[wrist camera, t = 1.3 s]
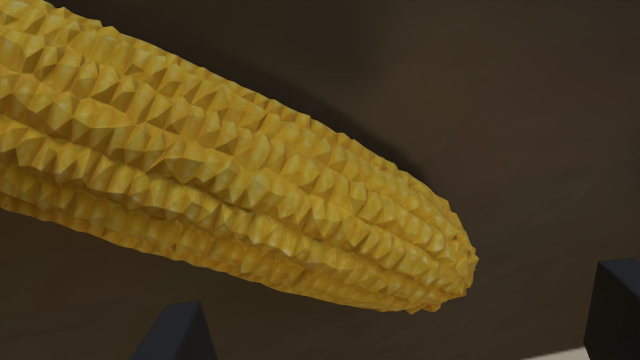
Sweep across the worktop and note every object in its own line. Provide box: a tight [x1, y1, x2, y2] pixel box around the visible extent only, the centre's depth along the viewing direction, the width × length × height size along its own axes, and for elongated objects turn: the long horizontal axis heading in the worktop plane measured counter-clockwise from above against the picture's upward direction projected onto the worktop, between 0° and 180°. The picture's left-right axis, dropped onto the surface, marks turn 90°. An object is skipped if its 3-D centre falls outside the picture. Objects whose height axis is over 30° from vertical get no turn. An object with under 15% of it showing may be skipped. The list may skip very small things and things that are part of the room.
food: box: [0, 0, 479, 314], centre depth 16 cm, size 21×6×6 cm, turn 66°
